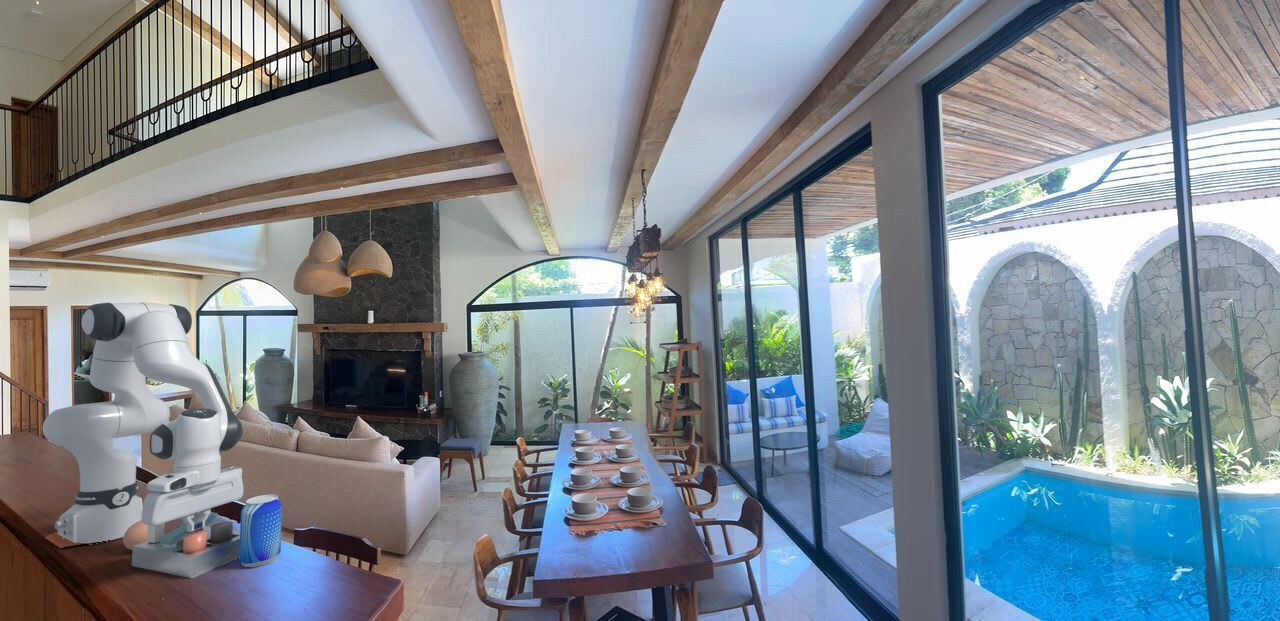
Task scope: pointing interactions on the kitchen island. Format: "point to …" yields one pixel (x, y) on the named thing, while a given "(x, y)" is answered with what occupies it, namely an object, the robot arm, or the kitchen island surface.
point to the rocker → (183, 531)
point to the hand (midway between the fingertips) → (195, 529)
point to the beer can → (260, 530)
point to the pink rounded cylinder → (194, 542)
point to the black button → (221, 532)
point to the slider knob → (155, 532)
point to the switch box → (185, 556)
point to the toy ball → (135, 534)
